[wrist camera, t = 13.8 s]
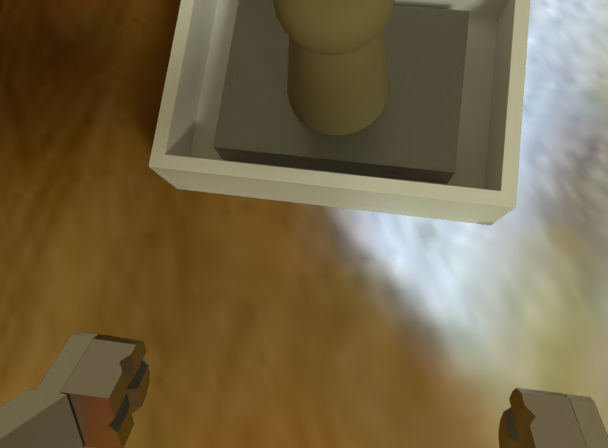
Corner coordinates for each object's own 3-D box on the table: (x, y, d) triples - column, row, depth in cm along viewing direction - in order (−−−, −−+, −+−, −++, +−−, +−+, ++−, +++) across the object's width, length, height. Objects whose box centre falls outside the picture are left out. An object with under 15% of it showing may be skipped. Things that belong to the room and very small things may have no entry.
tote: (177, 188, 35) (148, 166, 30) (212, -5, 37) (191, -55, 32) (491, 225, 33) (515, 207, 28) (507, 17, 35) (532, -33, 30)
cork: (352, 154, 31) (353, 63, 20) (267, 101, 32) (224, -14, 21) (409, 72, 31) (442, -61, 20) (324, 22, 32) (312, -129, 21)
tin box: (223, 159, 34) (213, 146, 31) (247, 16, 36) (239, -7, 33) (446, 184, 32) (454, 172, 30) (461, 33, 34) (469, 10, 32)
